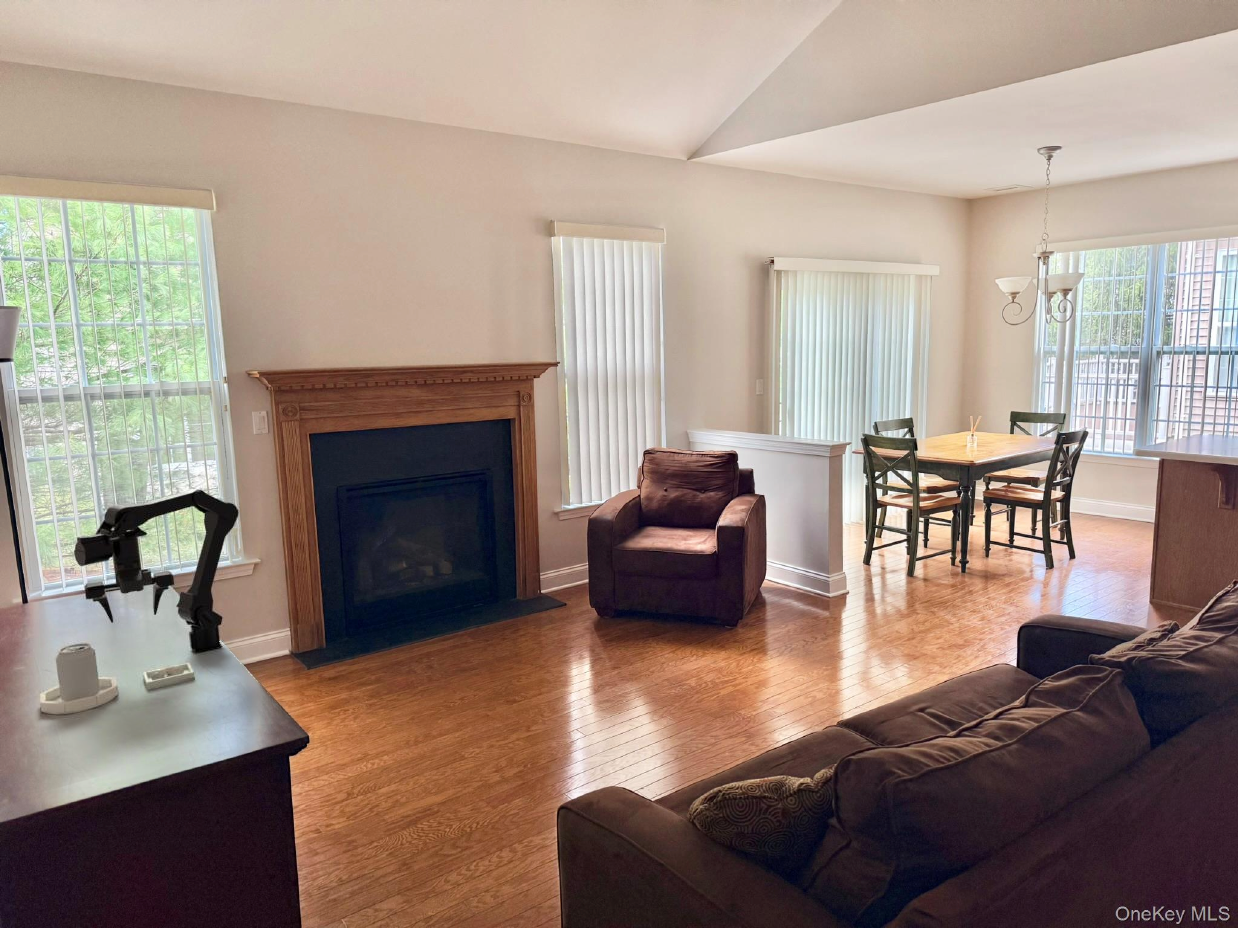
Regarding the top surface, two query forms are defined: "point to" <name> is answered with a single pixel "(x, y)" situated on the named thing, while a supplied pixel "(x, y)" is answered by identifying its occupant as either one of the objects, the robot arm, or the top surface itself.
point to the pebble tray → (168, 677)
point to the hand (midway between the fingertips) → (133, 618)
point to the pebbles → (167, 672)
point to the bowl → (56, 705)
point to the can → (77, 672)
